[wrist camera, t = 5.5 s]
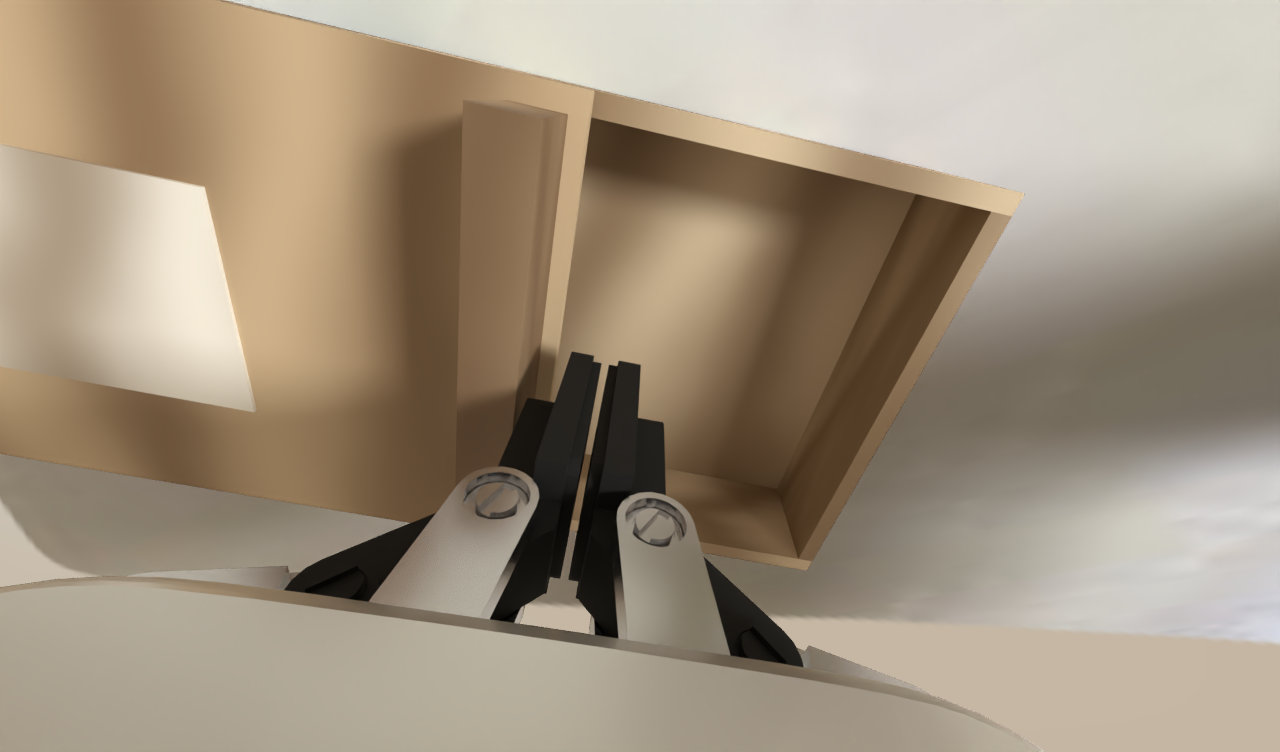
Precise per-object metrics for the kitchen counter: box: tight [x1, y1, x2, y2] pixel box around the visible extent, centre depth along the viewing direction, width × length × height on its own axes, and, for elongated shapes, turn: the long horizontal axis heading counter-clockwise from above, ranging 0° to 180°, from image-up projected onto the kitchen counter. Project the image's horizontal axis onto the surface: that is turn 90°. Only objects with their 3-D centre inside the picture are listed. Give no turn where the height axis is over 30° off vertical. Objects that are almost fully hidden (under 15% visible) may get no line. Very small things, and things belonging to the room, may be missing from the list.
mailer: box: [218, 0, 1025, 571], centre depth 15 cm, size 20×13×4 cm, turn 78°
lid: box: [0, 0, 595, 523], centre depth 11 cm, size 20×13×3 cm, turn 78°
